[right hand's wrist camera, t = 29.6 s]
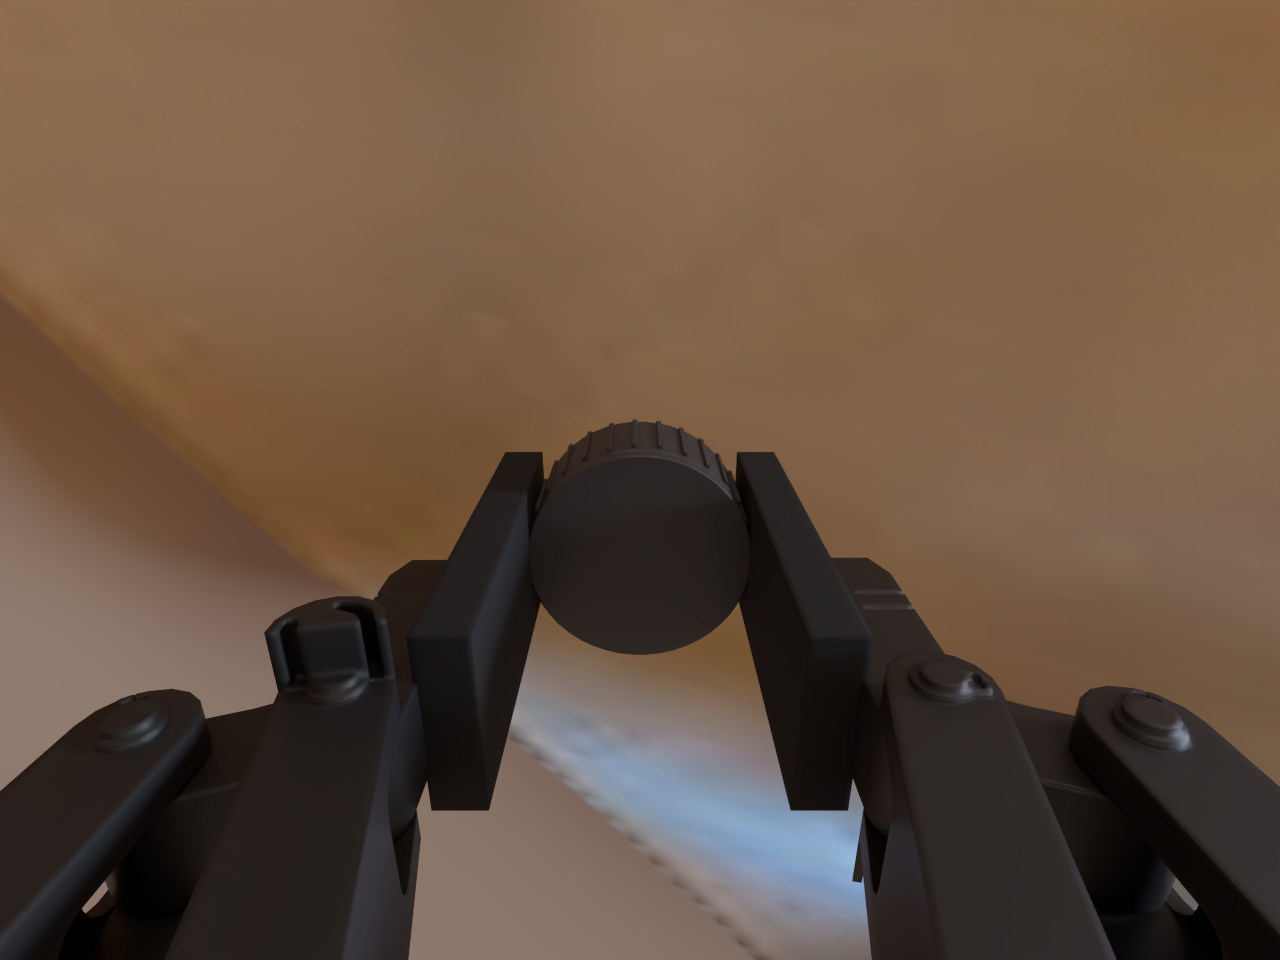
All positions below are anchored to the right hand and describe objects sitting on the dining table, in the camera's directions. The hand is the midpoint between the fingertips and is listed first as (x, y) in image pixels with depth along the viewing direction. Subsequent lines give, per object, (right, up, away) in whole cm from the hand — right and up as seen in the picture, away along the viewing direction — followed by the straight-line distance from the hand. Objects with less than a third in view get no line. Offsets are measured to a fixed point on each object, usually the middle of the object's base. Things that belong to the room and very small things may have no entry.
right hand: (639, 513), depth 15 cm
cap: (0, -1, -2) cm, 2 cm away
